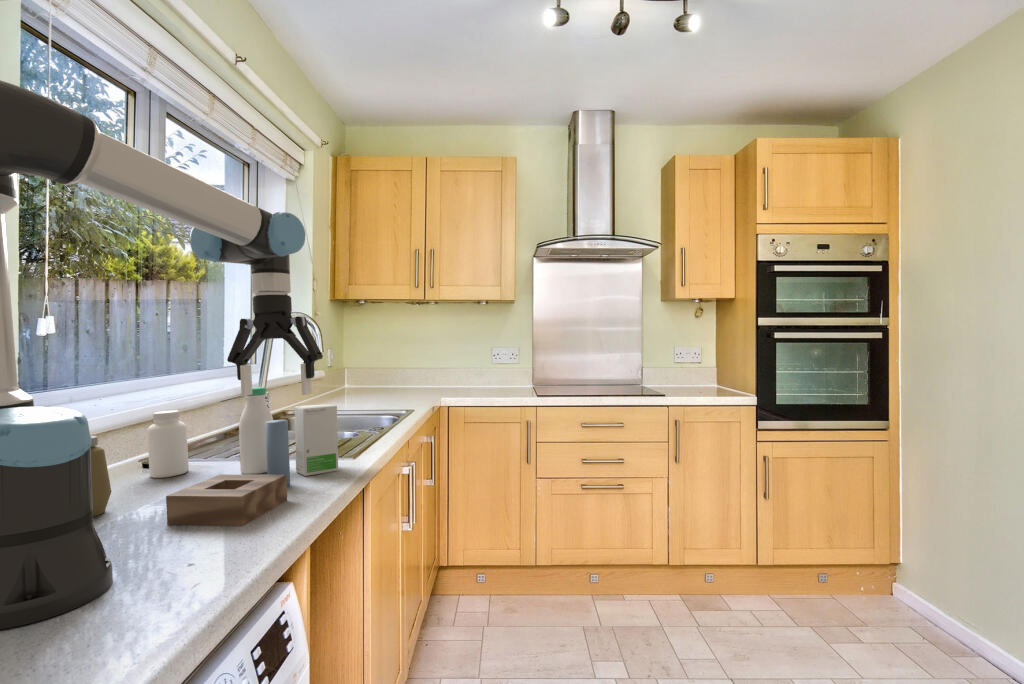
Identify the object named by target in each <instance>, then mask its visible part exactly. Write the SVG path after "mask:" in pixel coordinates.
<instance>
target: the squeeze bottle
mask: <svg viewBox="0 0 1024 684" xmlns="http://www.w3.org/2000/svg"><path fill="white" fill-rule="evenodd" d="M91 440H92V442H91V473H92V502H93V517H97V516H99V515H101V514H104V512H106V510H107V509H106V508H107V506H108V504H109V501H110V497H111V493H112V488H111V487H112V486H111V482H110V476H109V471H108V470H109V468H108V464H107V458H106V452H105V449H104V448H102V447H101V446H98V443H99V442H98V441H99V440H98V436H97V435H91Z"/></svg>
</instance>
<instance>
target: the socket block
mask: <svg viewBox="0 0 1024 684" xmlns="http://www.w3.org/2000/svg"><path fill="white" fill-rule="evenodd" d="M165 501H166V502H165V506H166V522H167V523H166V525H169V526H172V525H173V526H220V527H221V526H227V527H228V526H229V527H231V526H232V527H234V526H235V527H243V526H245V525H246V524H248V523H250V522H251V521H253V520H256V519H257V518H259V517H260V516H262V515H265V514H266V513H268V512H270V511H271V510H273V509H275V508H276V507H278V506H279V505H281V504H283V503H285V502H286V501H288V488H287V482H286V475H267V474H231V473H230V474H218V475H215V476H213V477H211V478H207V479H204V480H202V481H200V482H197V483H195V484H192V485H190V486H187V487H185V488H182V489H179V490H177V491H174V492H172V493H169V494H167V495H165Z"/></svg>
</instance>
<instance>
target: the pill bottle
mask: <svg viewBox="0 0 1024 684" xmlns="http://www.w3.org/2000/svg"><path fill="white" fill-rule="evenodd" d="M152 419H153V424H151V425H150V426H148V428H147V432H146V433H147V449H148V451H147V452H148V469H149V470H148V471H149V476H150V477H151V478H153V479H155V478H157V479H162V478H170V477H171V478H173V477H177V476H180V475H183V474H185V473H188V472H189V451H188V432H187V431H188V430H187V425H186V423H185V422H183V421H180V419H181V418H180V410H176V409H175V410H174V409H173V410H163V411H156V412H153V414H152Z"/></svg>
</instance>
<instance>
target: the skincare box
mask: <svg viewBox="0 0 1024 684" xmlns="http://www.w3.org/2000/svg"><path fill="white" fill-rule="evenodd" d="M294 431H295V432H294V433H295V434H294V437H295V440H294V441H295V471H296V473H298V474H300V475H302V476H303V477H308V476H314V475H319V474H325V473H326V474H327V473H333V472H337V471H339V450H338V449H339V446H338V440H339V439H338V438H339V437H338V406H337V405H336V404H335V405H334V404H330V403H329V404H328V403H326V404H325V403H324V404H323V403H322V404H308V405H299V406H297V405H296V406H294Z"/></svg>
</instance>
